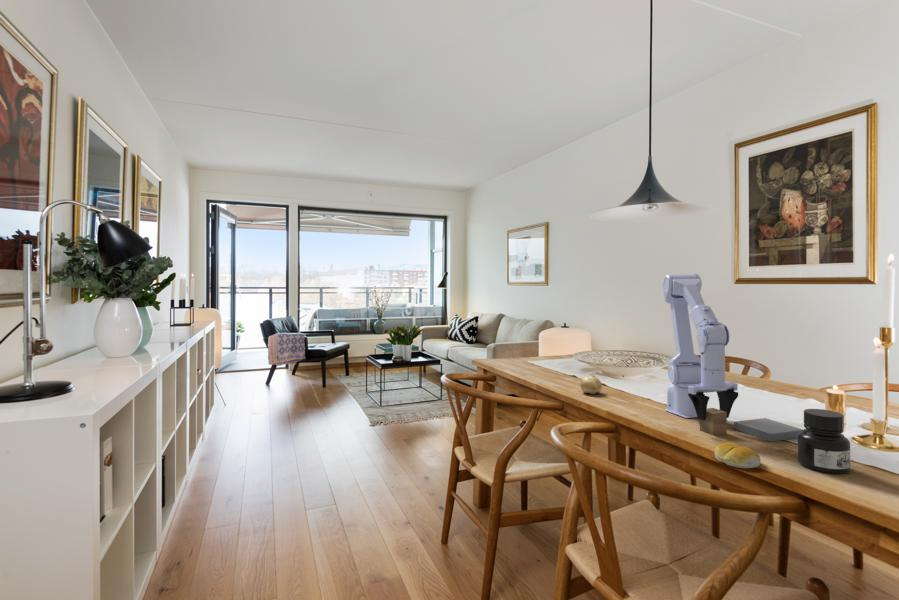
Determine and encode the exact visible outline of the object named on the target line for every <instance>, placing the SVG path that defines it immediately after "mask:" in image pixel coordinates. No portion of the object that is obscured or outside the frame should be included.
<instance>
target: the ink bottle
mask: <svg viewBox="0 0 899 600" xmlns="http://www.w3.org/2000/svg"><path fill="white" fill-rule="evenodd" d="M844 422H845V415H844V414H843V413H841V412H838V411H833V410H829V409H822V408H806V409H804V410H803V427H804V429H803V431H801V432H799V434H798V438H797V462H798V463H799V465H802V466H804V467H806V468H808V469H811V470H813V471H815V472H816V471H817V472H820V473H825V474H826V473H827V474H838V475H839V474H847V473H849V472H850V471H851V442H850V440H849V439H848V438H847V437H846V436H845V435H844V434H843V433H844V429H845V423H844Z"/></svg>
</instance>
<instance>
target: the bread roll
mask: <svg viewBox="0 0 899 600" xmlns="http://www.w3.org/2000/svg"><path fill="white" fill-rule="evenodd" d="M714 457H715V459H716V460H717V461H719V462H720V463H724V464H725V465H727V466H730V467H733V468H739V469H754V468H758V467H760V465H761V461H762V460H761V457H760V455H759V454H758V453H757V452H756V451H755V450H753V449H752V448H750V447H747V446H743V445H742V446H741V445H740V444H739V443H736V442H735V443H734V442H723V443H720V444H718V445H717V446H716V447H715V449H714Z"/></svg>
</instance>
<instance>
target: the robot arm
mask: <svg viewBox="0 0 899 600" xmlns="http://www.w3.org/2000/svg"><path fill="white" fill-rule="evenodd" d="M702 281H703V280H702V278H701V276H700V275H699V273H694V274H691V273H690V274H666V275H665V276H664V277H663V281H662V282H663V283H662V290H663V291H662V292H663V298H664V301H665V302H666V303H668V304H669V307H670V311H671V318H672V319H671V320H672V325H673V326H672V327H673V334H674V342H675V344H674V345H675V350H676V355H675V356H673V357H672V358H671V359H670V360H669V361H668V370H667V374H668V380H669V382H670V385H669V386H668V387H667V390H666V406H667V408H665V409H664V411H666V412H669V413H671V414H673V415H675V416H676V415H677V416H679V417H682V418H683V419H684V418H685V419H693V418H697V419H698V420H700V419H701V420H706V410H707V407H708V404H709V401H710V396H709V395H708V396H707V395H705V393H716V394H717V398H718V404H719V410H722V411H725V412H727V419H729V417H730V414H731V411H732V407H733V405H734V403H735V402H736V400H737V399H738V397H739V392H738V386H739V385H738V383H736V382H731V381H730V382H726V347H725V346H728V344H729V342H730V332H729V331H730V330H729V329H728V326H727V325H725V323H724V324H723V323H722V322H719V320H718V318H717V316H716V315H715V313H714V311H713V309H712V308H711V306H709V305H706V304H705V302H704V299H703V297H702V294H701V290H702V285H703V283H702ZM688 307H689V308H690V309H691V311H690V314H689V308H688ZM690 318H691V320H690ZM690 321H692V322H693V324H694V326H695V328H696V341H697V344H698V351H699V352H700V357H699V356H698V355H696V354H695V350H694V344H693V335H692V329H691V322H690Z"/></svg>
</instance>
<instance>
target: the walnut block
mask: <svg viewBox="0 0 899 600" xmlns="http://www.w3.org/2000/svg"><path fill="white" fill-rule="evenodd" d="M727 419H728V418H727V412H725V411H722V410H720V409H719V408H715V407H709V408H707V410H706V420H701V419H699V431H700V432H702V431H703V433H705V434H708V435H710V434H711V436H713V435H714V436H720V435H721V434H722V435H727V434H728V433H727V432H728V430H727V427H728V424H727V421H728V420H727Z"/></svg>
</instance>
